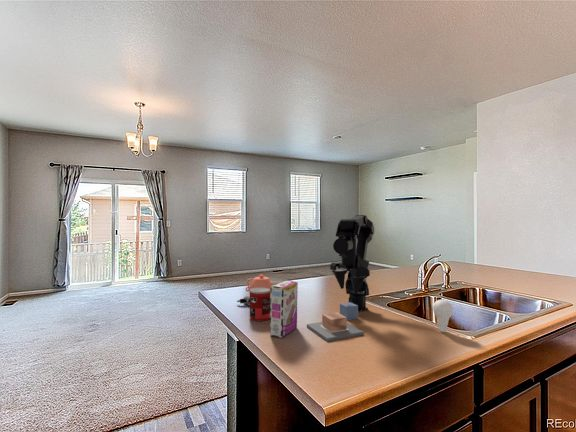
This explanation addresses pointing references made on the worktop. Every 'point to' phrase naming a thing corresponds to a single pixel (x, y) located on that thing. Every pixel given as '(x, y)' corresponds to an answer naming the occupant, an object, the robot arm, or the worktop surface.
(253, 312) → the canned food
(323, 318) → the terracotta block
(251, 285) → the sugar bowl
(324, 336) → the board
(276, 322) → the candy bar box
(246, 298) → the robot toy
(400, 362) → the worktop surface
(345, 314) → the blue cube
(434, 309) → the lightbulb
